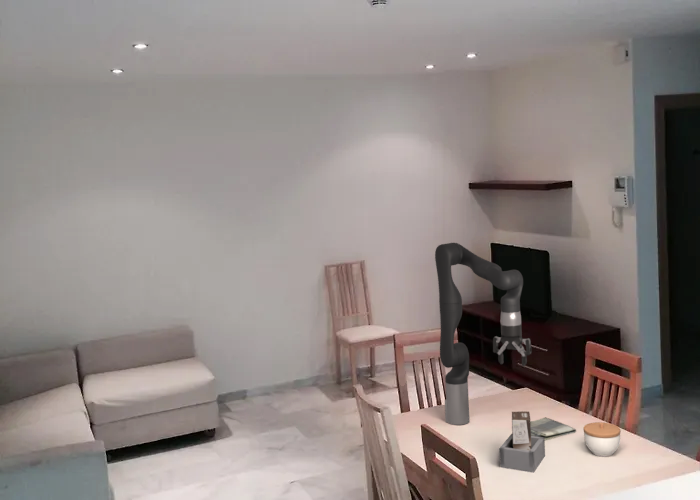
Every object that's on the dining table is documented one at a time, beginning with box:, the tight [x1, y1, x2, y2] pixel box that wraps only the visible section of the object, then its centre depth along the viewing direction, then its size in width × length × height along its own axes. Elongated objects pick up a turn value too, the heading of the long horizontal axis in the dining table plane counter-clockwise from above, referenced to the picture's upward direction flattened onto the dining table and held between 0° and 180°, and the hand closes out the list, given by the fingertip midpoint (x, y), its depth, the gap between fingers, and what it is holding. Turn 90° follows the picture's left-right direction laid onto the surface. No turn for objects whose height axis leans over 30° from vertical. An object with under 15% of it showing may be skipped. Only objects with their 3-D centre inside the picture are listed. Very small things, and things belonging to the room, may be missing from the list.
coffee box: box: [511, 410, 531, 451], centre depth 252 cm, size 9×6×16 cm
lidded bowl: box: [583, 421, 621, 457], centre depth 256 cm, size 13×13×11 cm
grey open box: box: [498, 433, 546, 473], centre depth 253 cm, size 12×15×7 cm
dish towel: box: [530, 417, 577, 441], centre depth 281 cm, size 19×18×3 cm
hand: (512, 364), depth 269 cm, fingers open, 8 cm apart
